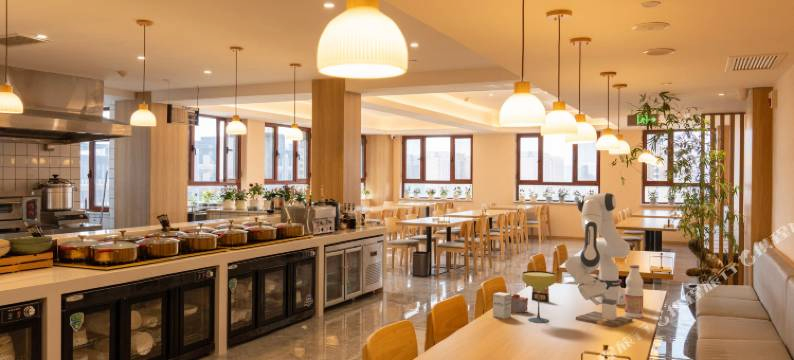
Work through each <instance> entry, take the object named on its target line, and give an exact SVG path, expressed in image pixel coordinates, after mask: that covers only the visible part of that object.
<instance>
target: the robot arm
mask: <svg viewBox="0 0 794 360" xmlns="http://www.w3.org/2000/svg"><path fill="white" fill-rule="evenodd" d="M576 206H577V209H578V211H579V212H581V219H580V220H581V229H582V230H583V232H584V247H583V248H582V250H581V253H580V255H572V256H569V257H568V258H567V259H566V260H565V262H564V267H565V269H566V271H567V273H568V274H569V275H570V277H571V278H572V279H574V281H575V283H576V285H577V288H578V291H579V293H580V295H581V296H582V298H583V300H585V301H591V302H592V303H594V304H595V306H599V305H600V304H602V299H612V300H617V305H619V306H620V305H621V306H623V305H624V306H625V290H624V288H622V287H621V283H622V279H619V276H620V275H619V273H620V271H619V266H618V264H617V263H615V261H614V260H613V258H617V259H618V258H626V257H628V256H629V254H630V252H631V246H630V244H629V243H628V241H626V240H625V239H623V237H622V236H621V235H620V233H619V232H618V230H617V228H616V227H617V226H616V224H615V220H614V215H613V211H614V210H615V209H616V207H617V200H616V197H615V195H614V194H613V193H608V192H606V193H595V194H588V195H585V194H584V195H581V196H579V197H578V199H577V201H576ZM598 234H599V235H600V236H601V237H598ZM596 270H598V271H599V272H598V273H599V275H598V276H599V277H598V276H595V275H594V276H593V275H592V274H591V273H593V272H595V271H596ZM617 305H616V306H617Z"/></svg>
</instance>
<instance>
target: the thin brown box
mask: <svg viewBox="0 0 794 360" xmlns="http://www.w3.org/2000/svg"><path fill="white" fill-rule="evenodd" d="M531 288H532V289H531V290H532V291H531V301H536V302H538V292H537V291H536V290H535V289H534V288H533V287H531ZM549 290H550V289H549V287H546V288H544V289H543V290H542V291H541V292H540V295H539V302H542V303H543V302H544V303H549V302H550V293H549Z"/></svg>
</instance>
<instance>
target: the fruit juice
mask: <svg viewBox="0 0 794 360" xmlns="http://www.w3.org/2000/svg"><path fill="white" fill-rule="evenodd" d="M629 269H630V270H629V273H628V275H627V276H626V278H625V285H626V286H625V290H624V291H625V304H624V317H627V318H634V319H638V318H639V319H641V318H643V316H644V288H643V285H644V279H643V278H642V275H641V273H640V265H637V264H630V266H629Z"/></svg>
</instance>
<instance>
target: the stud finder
mask: <svg viewBox="0 0 794 360" xmlns="http://www.w3.org/2000/svg"><path fill="white" fill-rule="evenodd" d="M601 313H602V318H604V319H609V320H615V319H616V315H617V300H612V299H602V303H601Z"/></svg>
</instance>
